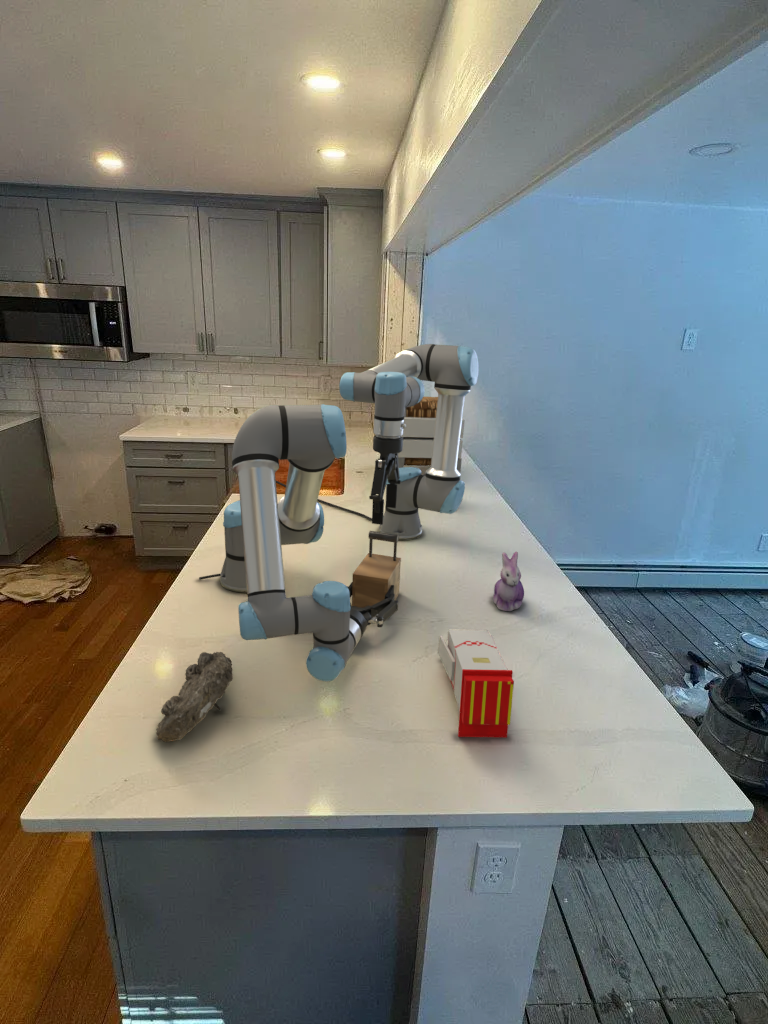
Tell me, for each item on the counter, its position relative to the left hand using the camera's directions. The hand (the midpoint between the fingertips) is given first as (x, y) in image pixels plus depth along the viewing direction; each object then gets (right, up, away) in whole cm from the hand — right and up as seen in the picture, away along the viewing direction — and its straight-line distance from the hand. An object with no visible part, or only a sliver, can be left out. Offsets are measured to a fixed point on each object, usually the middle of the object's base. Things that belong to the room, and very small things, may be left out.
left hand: (373, 586), depth 148 cm
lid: (+1, +4, +2) cm, 5 cm away
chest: (+1, -5, +5) cm, 7 cm away
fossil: (-33, -19, -38) cm, 53 cm away
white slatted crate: (+20, +38, +127) cm, 134 cm away
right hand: (+3, +19, +1) cm, 19 cm away
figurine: (+37, -6, +7) cm, 38 cm away
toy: (+21, -18, -30) cm, 40 cm away
